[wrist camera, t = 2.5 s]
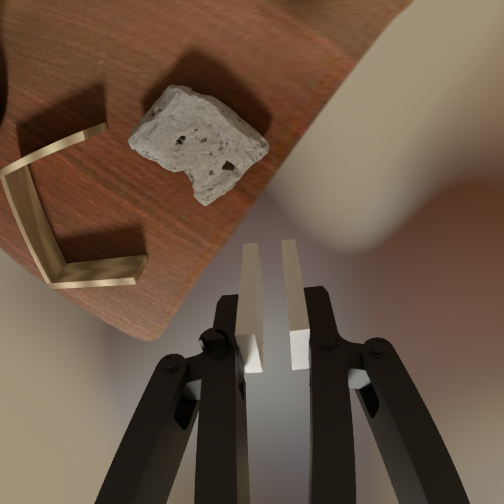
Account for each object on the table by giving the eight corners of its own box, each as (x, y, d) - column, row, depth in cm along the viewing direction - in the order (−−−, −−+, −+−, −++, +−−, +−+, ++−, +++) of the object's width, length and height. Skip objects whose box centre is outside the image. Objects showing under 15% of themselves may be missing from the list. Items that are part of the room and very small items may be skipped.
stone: (233, 207, 32) (280, 131, 28) (223, 227, 27) (280, 135, 23) (135, 153, 30) (173, 75, 26) (110, 163, 25) (151, 69, 21)
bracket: (65, 269, 39) (50, 288, 35) (21, 158, 29) (-2, 171, 24) (148, 260, 37) (136, 284, 33) (105, 122, 27) (82, 130, 23)
